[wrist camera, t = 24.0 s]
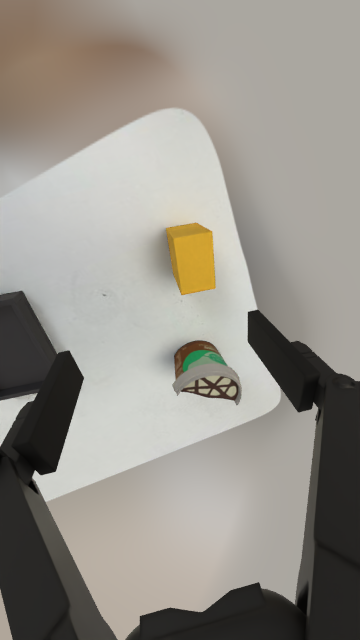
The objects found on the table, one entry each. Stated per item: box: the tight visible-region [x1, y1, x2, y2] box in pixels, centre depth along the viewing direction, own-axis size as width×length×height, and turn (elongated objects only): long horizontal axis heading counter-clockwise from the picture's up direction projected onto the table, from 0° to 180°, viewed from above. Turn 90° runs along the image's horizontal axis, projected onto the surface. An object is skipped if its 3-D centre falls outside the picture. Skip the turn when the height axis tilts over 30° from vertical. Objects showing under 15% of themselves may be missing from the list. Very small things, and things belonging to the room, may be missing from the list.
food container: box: [172, 341, 242, 405], centre depth 39 cm, size 12×6×10 cm, turn 67°
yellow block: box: [166, 223, 216, 295], centre depth 30 cm, size 7×4×8 cm, turn 8°
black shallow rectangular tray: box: [0, 291, 57, 400], centre depth 35 cm, size 18×13×3 cm
